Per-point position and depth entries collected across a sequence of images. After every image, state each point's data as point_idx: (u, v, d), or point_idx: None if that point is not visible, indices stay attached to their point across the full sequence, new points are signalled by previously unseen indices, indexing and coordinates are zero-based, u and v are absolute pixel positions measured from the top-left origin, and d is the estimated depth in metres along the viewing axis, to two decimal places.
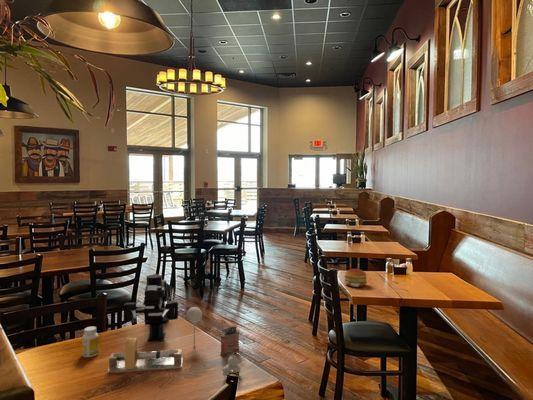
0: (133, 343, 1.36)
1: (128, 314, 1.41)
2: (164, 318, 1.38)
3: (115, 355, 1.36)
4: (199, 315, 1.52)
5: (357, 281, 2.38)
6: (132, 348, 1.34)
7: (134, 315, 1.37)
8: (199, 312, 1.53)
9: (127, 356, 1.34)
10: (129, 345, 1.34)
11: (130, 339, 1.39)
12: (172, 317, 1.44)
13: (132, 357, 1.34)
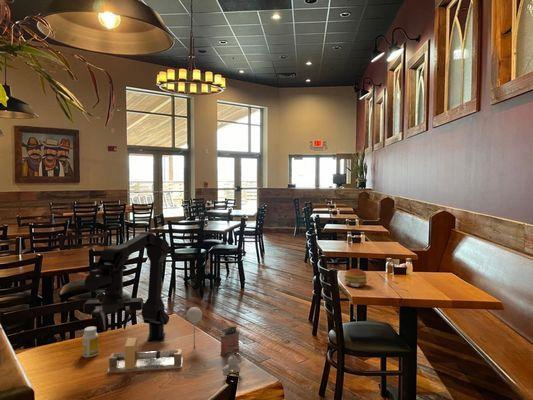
0: (133, 343, 1.36)
1: None
2: None
3: (115, 355, 1.36)
4: (199, 315, 1.52)
5: (357, 281, 2.38)
6: (132, 348, 1.34)
7: (102, 325, 1.37)
8: (199, 312, 1.53)
9: (127, 356, 1.34)
10: (129, 345, 1.34)
11: (130, 339, 1.39)
12: None
13: (132, 357, 1.34)
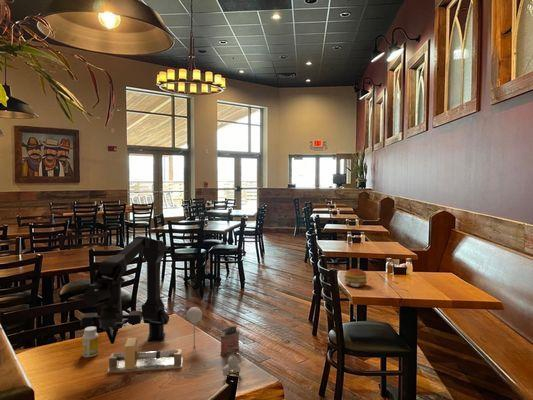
0: (133, 343, 1.36)
1: None
2: None
3: (115, 355, 1.36)
4: (199, 315, 1.52)
5: (357, 281, 2.38)
6: (132, 348, 1.34)
7: (110, 339, 1.35)
8: (199, 312, 1.53)
9: (127, 356, 1.34)
10: (129, 345, 1.34)
11: (130, 339, 1.39)
12: None
13: (132, 357, 1.34)
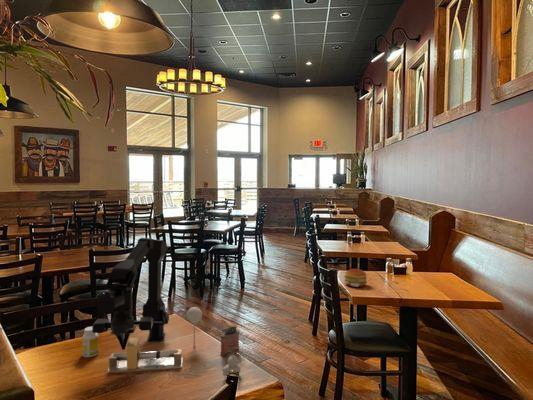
0: (135, 343, 1.36)
1: None
2: None
3: (115, 355, 1.36)
4: (199, 315, 1.52)
5: (357, 281, 2.38)
6: (134, 348, 1.34)
7: (121, 344, 1.36)
8: (199, 312, 1.53)
9: (129, 356, 1.34)
10: (131, 345, 1.34)
11: (132, 339, 1.39)
12: None
13: (134, 357, 1.34)
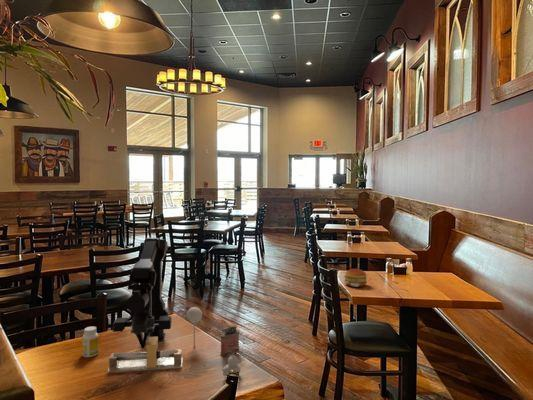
0: (154, 342, 1.37)
1: None
2: None
3: (115, 355, 1.36)
4: (199, 315, 1.52)
5: (357, 281, 2.38)
6: (154, 347, 1.35)
7: (141, 343, 1.37)
8: (199, 312, 1.53)
9: (149, 355, 1.35)
10: (151, 344, 1.35)
11: (151, 338, 1.40)
12: None
13: (154, 356, 1.35)
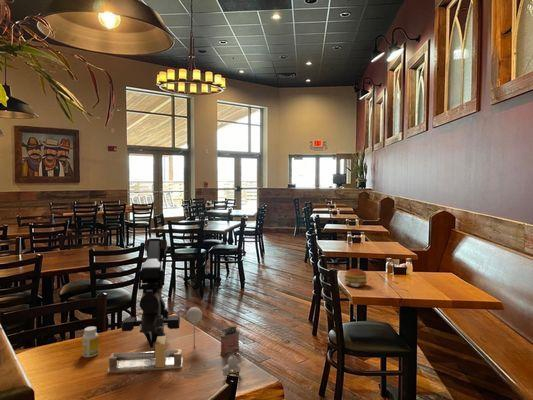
0: (163, 341, 1.37)
1: None
2: (153, 343, 1.39)
3: (115, 355, 1.36)
4: (199, 315, 1.52)
5: (357, 281, 2.38)
6: (163, 346, 1.35)
7: (150, 343, 1.37)
8: (199, 312, 1.53)
9: (158, 354, 1.35)
10: (159, 343, 1.36)
11: (159, 337, 1.41)
12: None
13: (162, 355, 1.36)
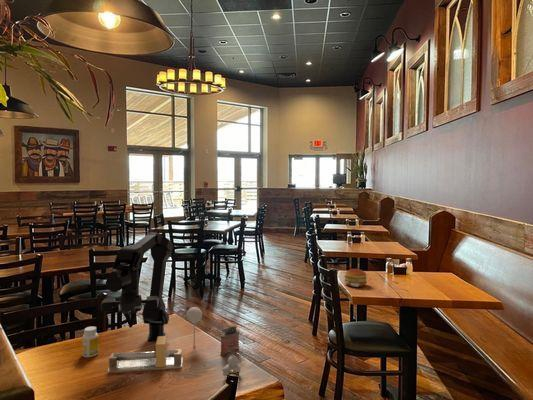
0: (164, 341, 1.37)
1: None
2: None
3: (115, 355, 1.36)
4: (199, 315, 1.52)
5: (357, 281, 2.38)
6: (163, 346, 1.35)
7: (129, 322, 1.41)
8: (199, 312, 1.53)
9: (158, 354, 1.35)
10: (160, 343, 1.36)
11: (160, 337, 1.41)
12: None
13: (163, 355, 1.36)
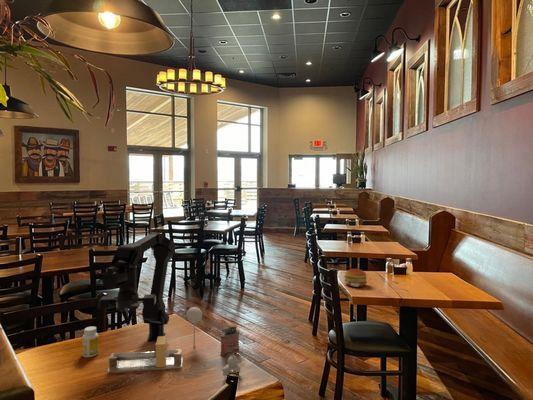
0: (164, 341, 1.37)
1: None
2: (130, 321, 1.44)
3: (115, 355, 1.36)
4: (199, 315, 1.52)
5: (357, 281, 2.38)
6: (163, 346, 1.35)
7: (126, 320, 1.42)
8: (199, 312, 1.53)
9: (158, 354, 1.35)
10: (160, 343, 1.36)
11: (160, 337, 1.41)
12: None
13: (163, 355, 1.36)
